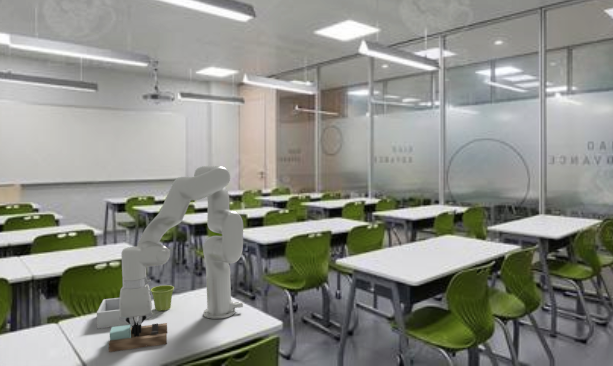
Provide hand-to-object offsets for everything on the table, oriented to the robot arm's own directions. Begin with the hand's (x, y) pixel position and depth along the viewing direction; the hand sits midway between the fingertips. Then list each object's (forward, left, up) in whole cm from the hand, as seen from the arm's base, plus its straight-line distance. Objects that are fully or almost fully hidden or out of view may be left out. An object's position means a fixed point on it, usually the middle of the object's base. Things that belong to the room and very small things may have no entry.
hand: (136, 335), depth 146 cm
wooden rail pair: (-1, 0, -2) cm, 2 cm away
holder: (+8, -25, -2) cm, 26 cm away
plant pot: (-8, -31, -2) cm, 32 cm away
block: (+5, 0, -2) cm, 6 cm away
